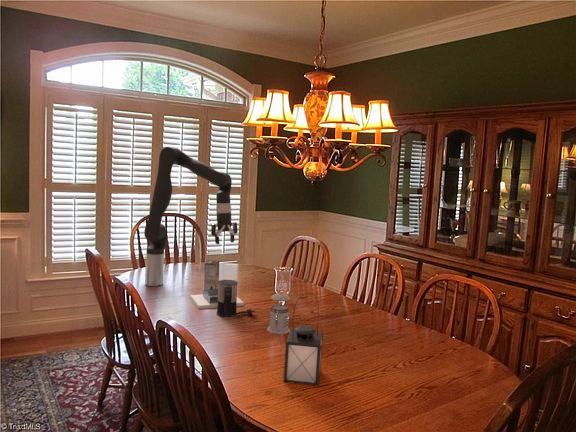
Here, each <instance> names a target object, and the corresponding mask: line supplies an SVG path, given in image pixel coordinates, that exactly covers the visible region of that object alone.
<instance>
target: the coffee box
mask: <svg viewBox="0 0 576 432" xmlns="http://www.w3.org/2000/svg"><path fill="white" fill-rule="evenodd" d="M203 272H204V273H203V275H204V276H203V277H204V278H203V290H209V289H218V281H220V260H210V259H209V260H207V261H206V262H204V271H203Z"/></svg>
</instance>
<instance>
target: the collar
mask: <svg viewBox="0 0 576 432" xmlns="http://www.w3.org/2000/svg"><path fill="white" fill-rule="evenodd" d="M202 294H203V297H204V298H205V299H206V300H207V301H208V302H209V303H218V296H215V295H218V289H209V290H204V289H202ZM211 296H213V297H211Z"/></svg>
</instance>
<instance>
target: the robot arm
mask: <svg viewBox="0 0 576 432" xmlns="http://www.w3.org/2000/svg"><path fill="white" fill-rule="evenodd" d="M173 165H176V166H180V167H183V168H186V169H188V170H189V171H190V172H192V173H193V174H194V175H196V176H197V177H200V178H202V179H204V180H207V181H208V182H210V183H211V184H212V185H214V186H217V187H218V191H217V192H216V201H215V202H216V207H215V209H216V210H215V211H216V223H212V224H211V228H210V231H211V233H210V235H211V236H213V237H214V241H215V244H216V245H220V235H221V234H222V233H223V232H224V233H226V232H228V234H230V243H234V242H235V235H237V234H238V233H239V232H238V222H236V221H235V222H234V221H233V222H232V206H231V205H232V204H231V190H232V184H233V182H232V178H231V176H230V174H229V173H227V172H221V171H217V170H215V168H214V167H212V166H210V165H208V164H206V163H204V162H201V161H199V160H197V159H195V158H193V157H191V156H189V155H188V154H186V153H184V152H183V151H182V150H180V149H179V148H178V147H175V146H164V147H163V148H162V149H160V152H159V157H158V167H157V175H156V179H155V183H154V184H155V185H154V188H153V194H152V199H151V203H150V209H149V215H148V218H147V221H146V224H145V227H144V231H143V232H144V233H143V234H144V237H145V239H146V240H147V241H148V242H149V245H148V246H147V247H146V252H145V253H146V254H145V255H146V257H145V258H146V260H145V271H144V272H145V273H144V277H145V278H144V284H145V285H147V286H146V287H160V286H159V285H161V286H163V285H164V272H165V271H164V266H165V265H164V264H165V249H166V247H167V228H166V226H165V225H164V224H162V220H163V216H164V214H165V212H166V211H167V209H168V208H169V205H170V204H171V203H170V202H171V199H172V194H173V185H172V184H173V183H172V178H171V177H172V175H171V174H172V171H173V170H172V169H173ZM162 284H163V285H162Z"/></svg>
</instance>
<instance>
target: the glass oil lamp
mask: <svg viewBox="0 0 576 432" xmlns="http://www.w3.org/2000/svg"><path fill="white" fill-rule="evenodd" d="M279 274H280V275H284V274H285V271H284V270H280V272H279ZM280 279H281V281H280V282H281V283H280V288H282V283H283V282H282V281H283V277H281V278H280ZM270 299H271V300H272V301H275V302H279V304H277V303H274V305H271V309H270V314H269V315H270V316H269V326H268V327H267V328H266V330H267V331H268V332H270V333H272V334H275V335H276V334H278V335H283V334H284V335H285V334H289V332H290V330H291V328H289V321H290V320H289V318H290V316H289V315H290V310H289V308H290V307H289V306H288V305H286V304H285V305H284V304H281V302H286V301H287V302H288V301H290V300H291V297H290V296H289V295H287V294H286V293H282V292H280V293H274V294H273V295H271V296H270Z"/></svg>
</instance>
